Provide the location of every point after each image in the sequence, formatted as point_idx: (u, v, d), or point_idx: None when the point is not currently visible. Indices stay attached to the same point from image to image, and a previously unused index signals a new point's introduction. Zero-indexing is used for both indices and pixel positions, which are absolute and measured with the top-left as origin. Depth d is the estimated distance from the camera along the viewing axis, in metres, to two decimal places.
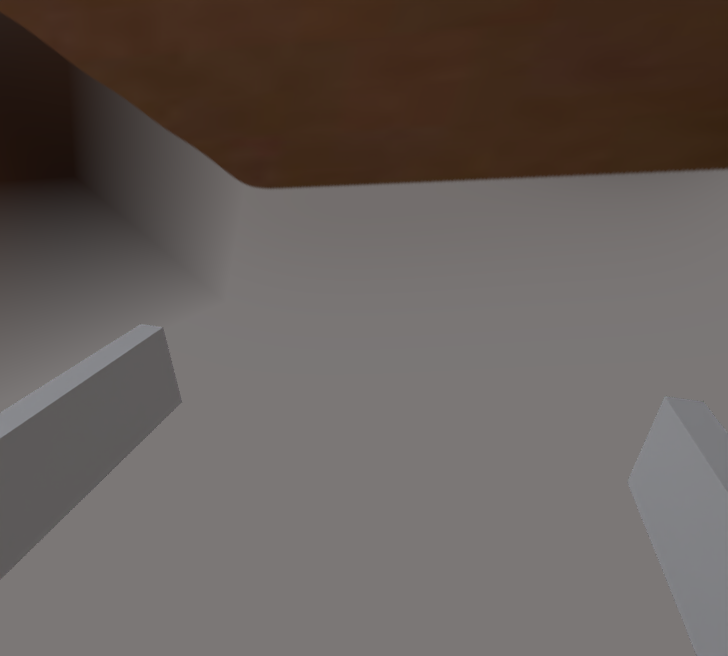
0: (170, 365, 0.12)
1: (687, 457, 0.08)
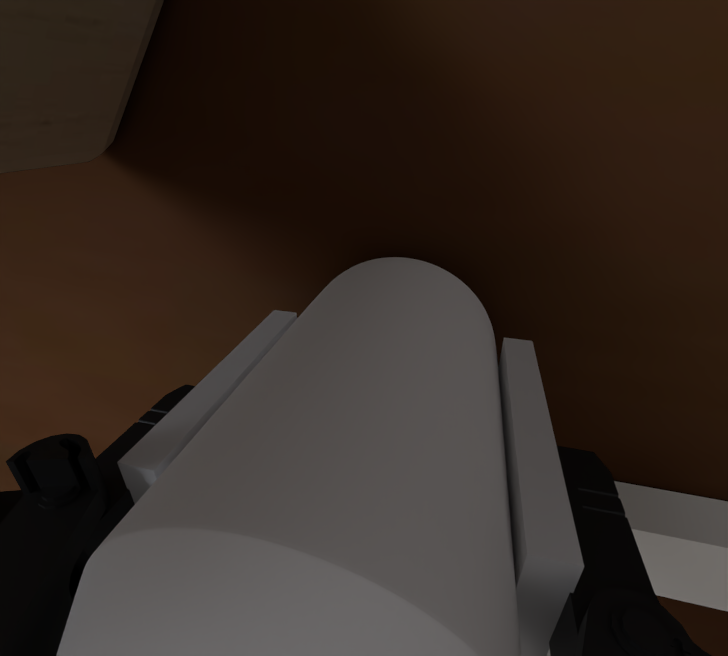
0: None
1: (504, 378, 0.10)
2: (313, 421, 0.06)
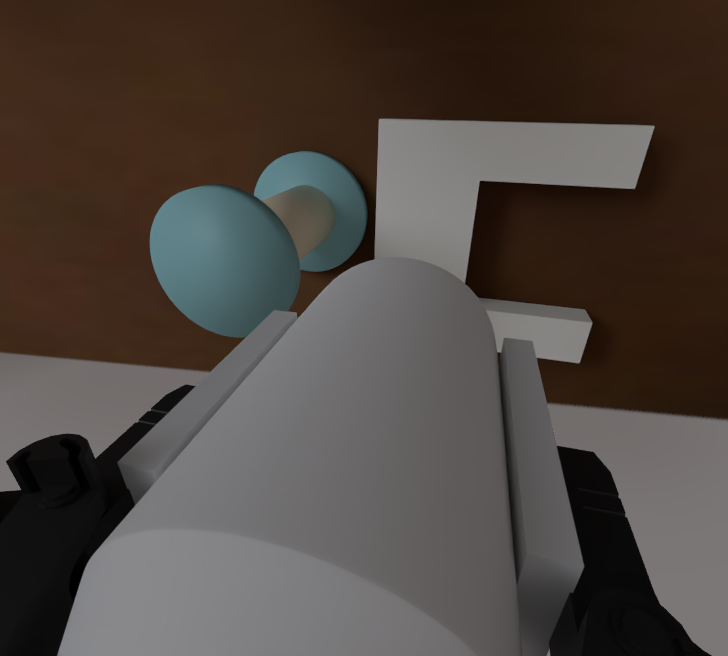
0: None
1: (504, 378, 0.10)
2: (314, 422, 0.06)
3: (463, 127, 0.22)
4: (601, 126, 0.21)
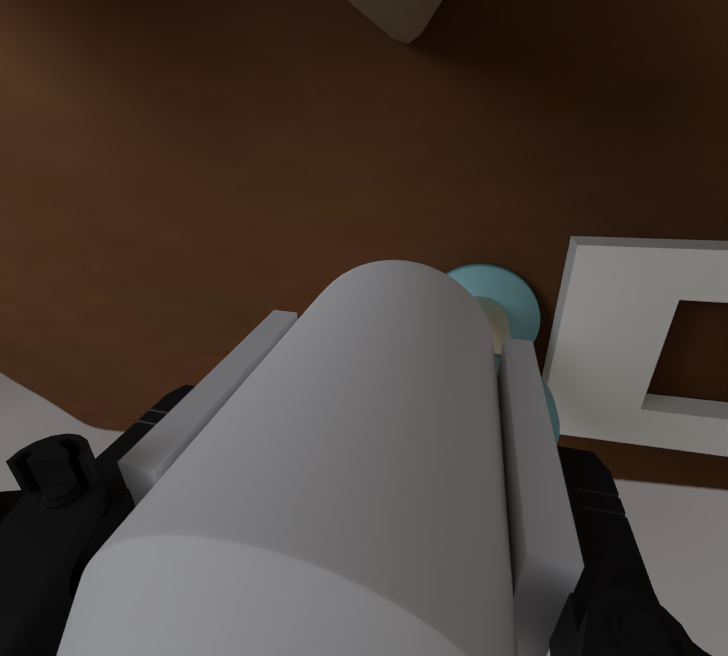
0: None
1: (504, 378, 0.10)
2: (310, 428, 0.06)
3: (668, 253, 0.23)
4: None
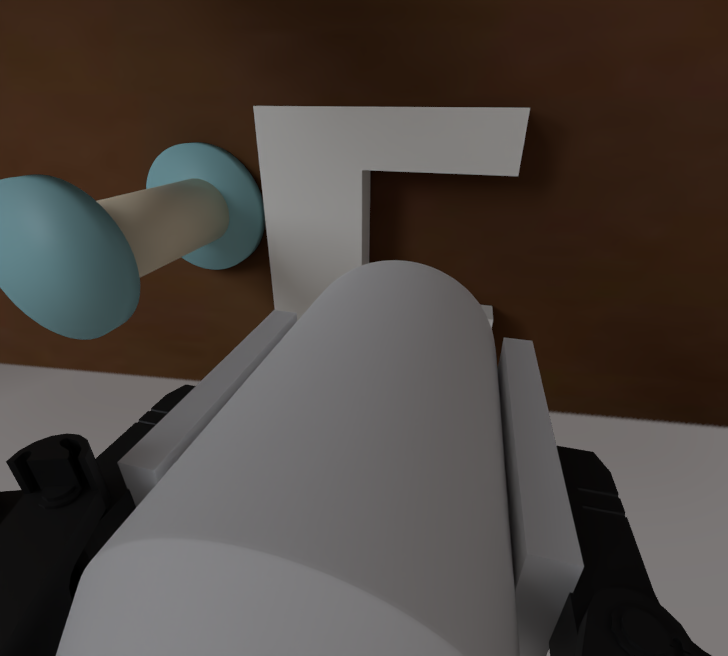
0: None
1: (504, 378, 0.10)
2: (311, 429, 0.06)
3: (338, 113, 0.21)
4: (476, 109, 0.19)
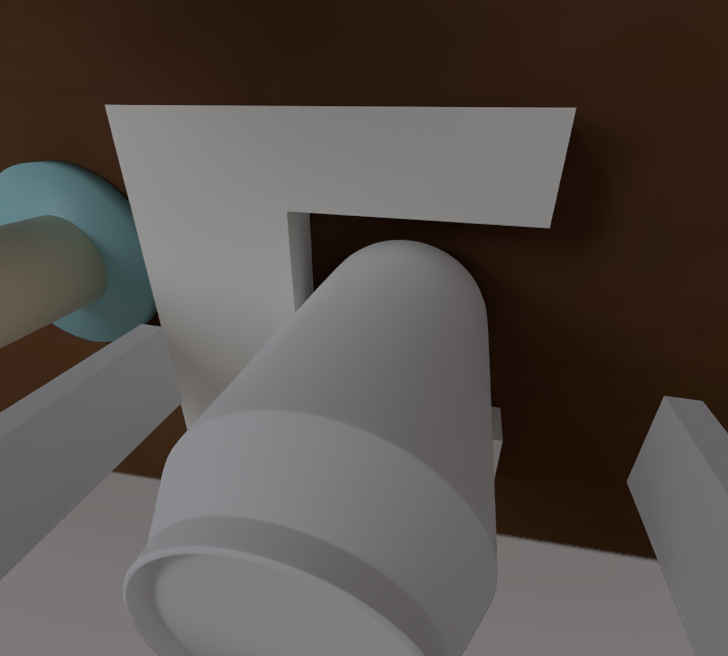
0: (170, 365, 0.12)
1: (686, 456, 0.08)
2: (338, 349, 0.07)
3: (240, 117, 0.12)
4: (476, 110, 0.11)
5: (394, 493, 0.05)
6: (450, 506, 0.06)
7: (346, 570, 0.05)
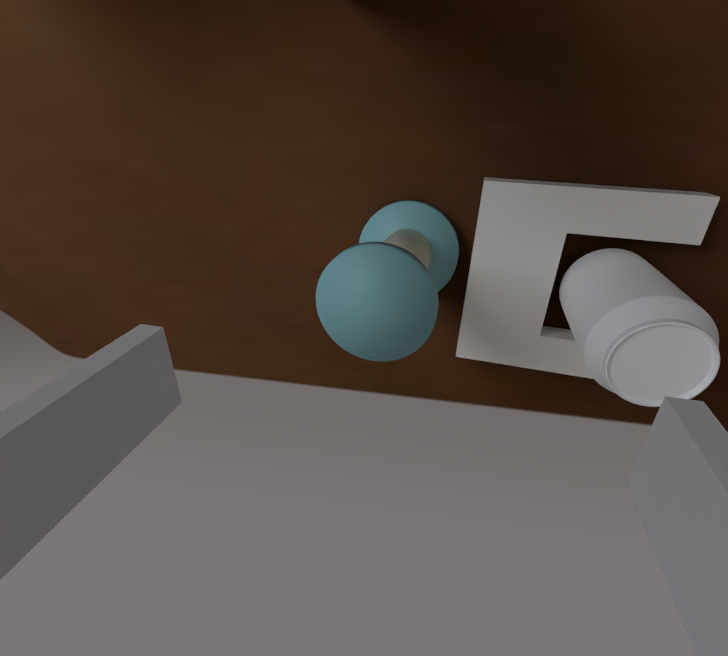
0: (170, 365, 0.12)
1: (687, 457, 0.08)
2: (655, 284, 0.22)
3: (557, 190, 0.27)
4: (675, 195, 0.25)
5: (701, 316, 0.20)
6: (712, 323, 0.20)
7: (700, 328, 0.19)
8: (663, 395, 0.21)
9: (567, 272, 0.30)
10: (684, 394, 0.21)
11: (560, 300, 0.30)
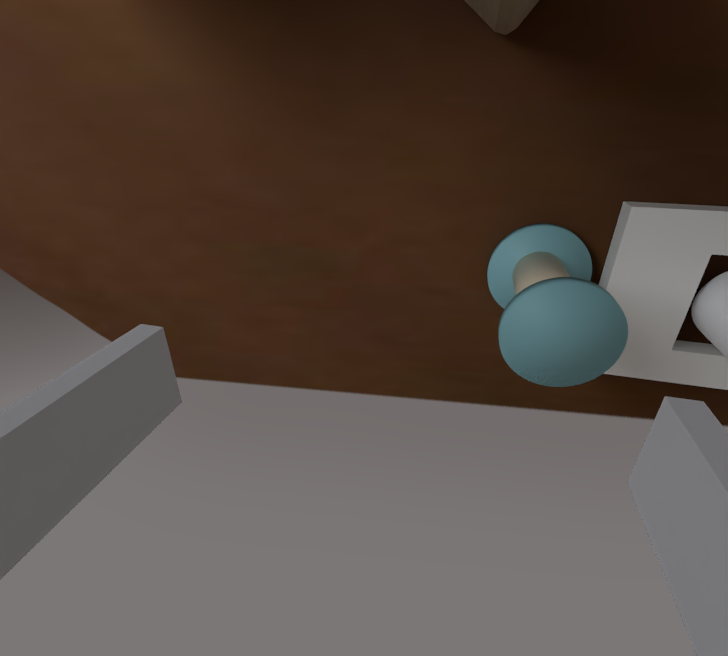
0: (170, 365, 0.12)
1: (687, 457, 0.08)
2: None
3: (706, 215, 0.28)
4: None
5: None
6: None
7: None
8: None
9: (704, 290, 0.31)
10: None
11: (695, 316, 0.32)
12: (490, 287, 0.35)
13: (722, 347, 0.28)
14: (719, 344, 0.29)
